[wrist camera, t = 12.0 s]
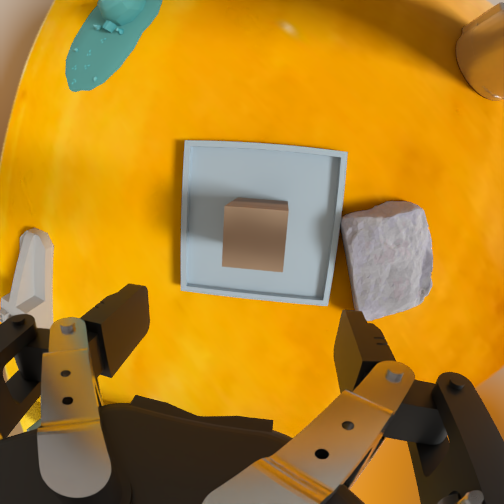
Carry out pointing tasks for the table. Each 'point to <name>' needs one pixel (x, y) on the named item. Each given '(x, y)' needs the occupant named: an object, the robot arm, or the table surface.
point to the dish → (271, 188)
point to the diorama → (107, 40)
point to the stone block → (388, 257)
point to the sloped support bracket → (32, 280)
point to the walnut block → (255, 234)
